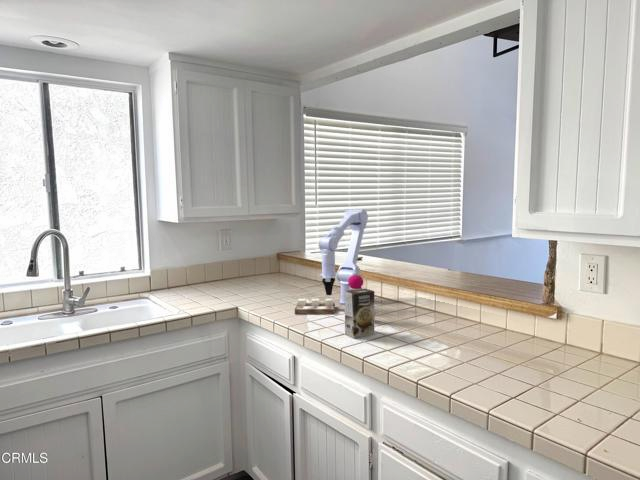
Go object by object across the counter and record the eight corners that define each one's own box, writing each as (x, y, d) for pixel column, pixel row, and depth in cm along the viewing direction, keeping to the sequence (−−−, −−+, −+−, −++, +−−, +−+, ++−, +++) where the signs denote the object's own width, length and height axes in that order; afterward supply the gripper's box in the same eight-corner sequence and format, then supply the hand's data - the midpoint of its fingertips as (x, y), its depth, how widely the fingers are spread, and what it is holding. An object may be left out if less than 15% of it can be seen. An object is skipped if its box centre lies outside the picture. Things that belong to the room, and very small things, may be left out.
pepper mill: (367, 319, 181) (367, 270, 178) (361, 324, 174) (361, 273, 172) (350, 317, 184) (350, 269, 181) (344, 322, 177) (343, 272, 175)
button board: (334, 306, 201) (334, 301, 201) (334, 314, 189) (334, 308, 189) (297, 307, 202) (297, 301, 202) (294, 314, 190) (294, 308, 190)
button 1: (306, 305, 199) (305, 298, 198) (305, 307, 195) (305, 300, 195) (298, 305, 199) (298, 298, 198) (298, 307, 196) (297, 300, 195)
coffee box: (353, 338, 157) (353, 294, 155) (344, 333, 163) (343, 290, 161) (375, 334, 161) (375, 290, 159) (365, 329, 167) (365, 287, 165)
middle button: (319, 305, 198) (319, 298, 198) (319, 307, 195) (318, 300, 195) (312, 305, 198) (312, 298, 198) (311, 307, 195) (311, 300, 195)
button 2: (332, 305, 198) (332, 298, 197) (332, 307, 195) (332, 300, 194) (325, 305, 198) (325, 298, 198) (325, 307, 195) (325, 300, 194)
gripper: (320, 261, 202) (320, 291, 203) (318, 267, 187) (318, 298, 189) (335, 261, 201) (336, 291, 203) (335, 267, 187) (335, 298, 188)
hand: (328, 294), depth 196 cm, fingers closed
